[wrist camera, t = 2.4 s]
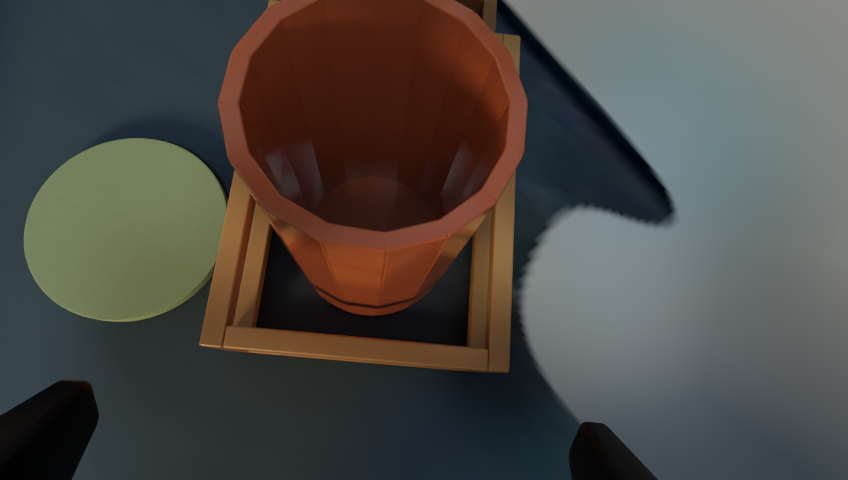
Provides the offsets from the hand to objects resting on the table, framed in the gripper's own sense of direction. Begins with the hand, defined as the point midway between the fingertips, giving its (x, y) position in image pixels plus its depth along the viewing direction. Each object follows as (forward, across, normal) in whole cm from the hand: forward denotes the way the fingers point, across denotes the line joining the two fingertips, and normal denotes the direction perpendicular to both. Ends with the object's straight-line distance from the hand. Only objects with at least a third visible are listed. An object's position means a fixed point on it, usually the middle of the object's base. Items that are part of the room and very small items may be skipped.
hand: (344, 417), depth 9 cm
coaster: (+13, +11, +5) cm, 18 cm away
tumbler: (+14, 0, +4) cm, 14 cm away
